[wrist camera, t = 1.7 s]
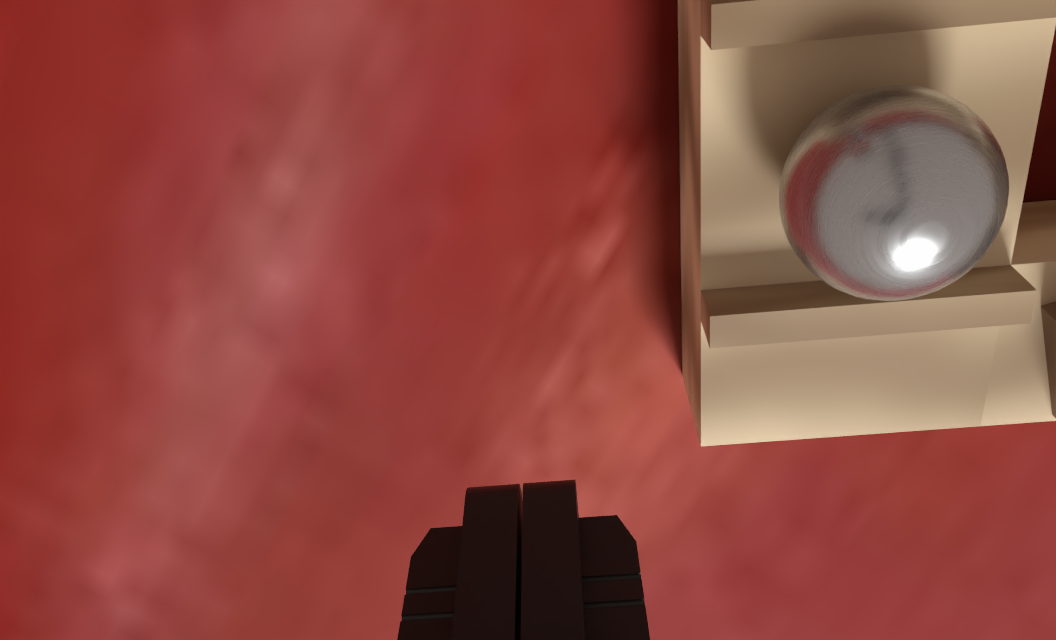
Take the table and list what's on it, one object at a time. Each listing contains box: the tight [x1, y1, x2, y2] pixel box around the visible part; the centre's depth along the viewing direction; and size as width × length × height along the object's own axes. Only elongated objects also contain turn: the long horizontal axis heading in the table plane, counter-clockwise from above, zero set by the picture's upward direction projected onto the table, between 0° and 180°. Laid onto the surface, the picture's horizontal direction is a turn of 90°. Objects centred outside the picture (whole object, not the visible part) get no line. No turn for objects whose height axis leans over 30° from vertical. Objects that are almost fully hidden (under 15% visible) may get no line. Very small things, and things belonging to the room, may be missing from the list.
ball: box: [779, 85, 1009, 301], centre depth 21 cm, size 5×5×5 cm
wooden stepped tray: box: [678, 0, 1056, 446], centre depth 24 cm, size 18×18×7 cm
